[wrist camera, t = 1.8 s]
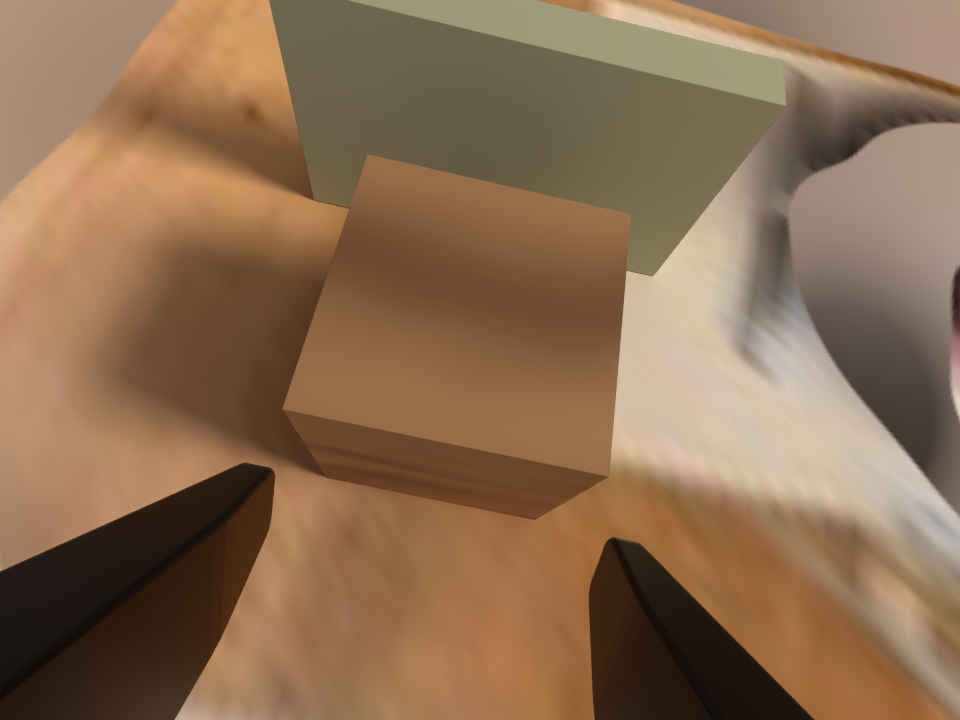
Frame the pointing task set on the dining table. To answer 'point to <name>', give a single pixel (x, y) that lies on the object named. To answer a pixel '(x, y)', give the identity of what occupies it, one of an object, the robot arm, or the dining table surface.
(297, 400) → the walnut block
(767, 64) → the stop board
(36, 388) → the dining table surface
